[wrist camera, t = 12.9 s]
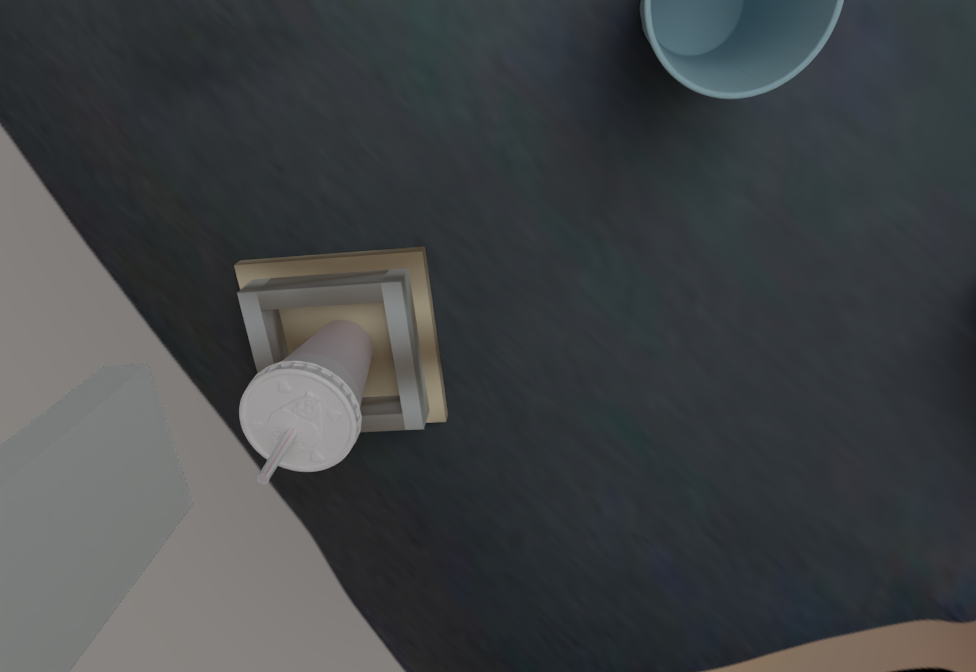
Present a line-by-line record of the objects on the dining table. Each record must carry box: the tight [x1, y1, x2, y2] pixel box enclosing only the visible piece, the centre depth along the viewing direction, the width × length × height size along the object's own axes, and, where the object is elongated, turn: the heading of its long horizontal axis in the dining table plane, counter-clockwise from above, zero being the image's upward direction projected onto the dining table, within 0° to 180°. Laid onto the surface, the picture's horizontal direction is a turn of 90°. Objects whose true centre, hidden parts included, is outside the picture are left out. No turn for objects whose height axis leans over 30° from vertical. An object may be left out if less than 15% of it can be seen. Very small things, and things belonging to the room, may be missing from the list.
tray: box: [234, 247, 448, 432], centre depth 44 cm, size 12×12×4 cm
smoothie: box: [239, 320, 373, 484], centre depth 39 cm, size 6×6×14 cm
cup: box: [640, 0, 844, 99], centre depth 32 cm, size 8×8×10 cm
